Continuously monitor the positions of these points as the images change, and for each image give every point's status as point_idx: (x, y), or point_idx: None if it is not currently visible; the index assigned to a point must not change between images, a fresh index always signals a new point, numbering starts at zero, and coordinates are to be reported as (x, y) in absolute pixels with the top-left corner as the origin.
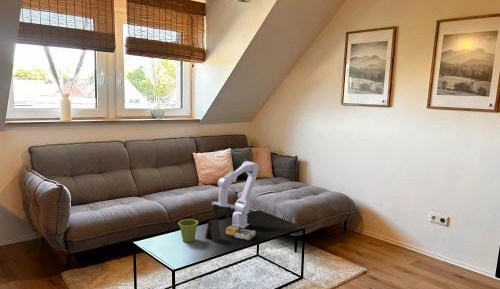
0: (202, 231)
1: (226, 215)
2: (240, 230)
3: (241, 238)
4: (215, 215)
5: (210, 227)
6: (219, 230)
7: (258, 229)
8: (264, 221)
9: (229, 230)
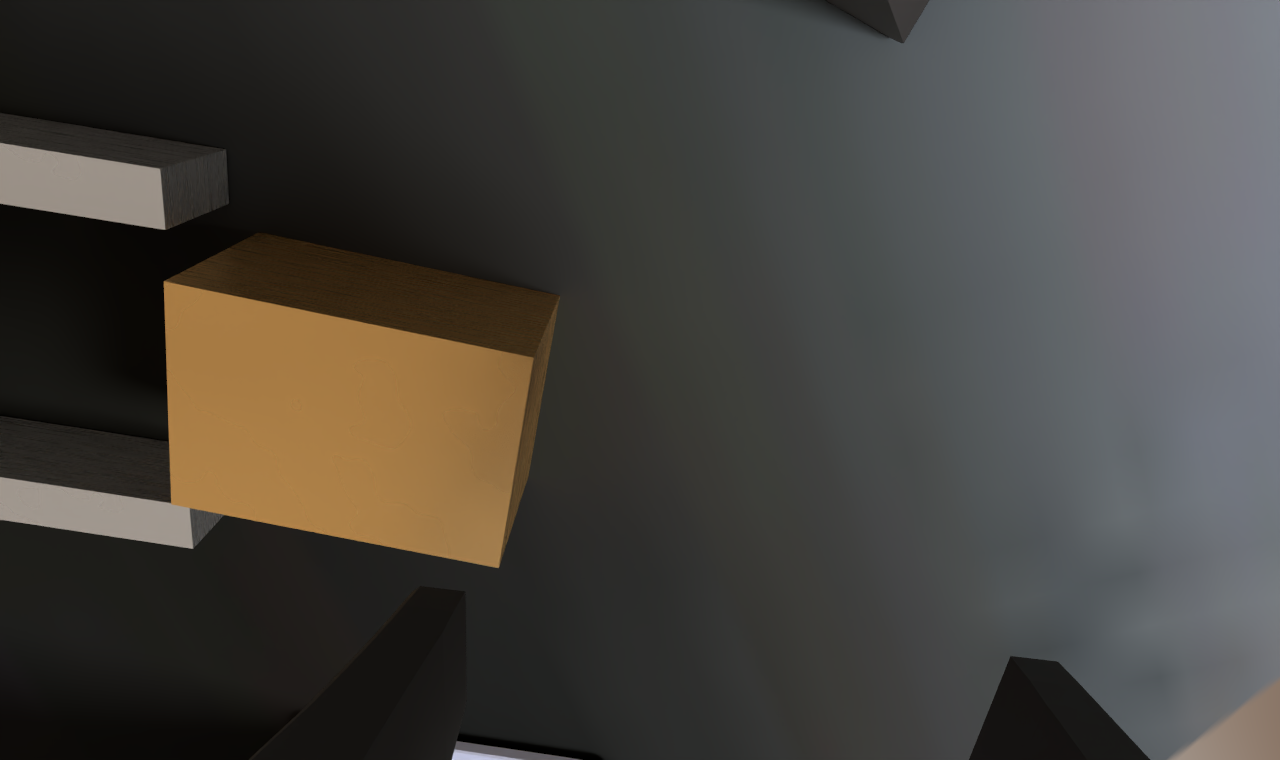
0: (1262, 258)
1: (376, 711)
2: None
3: (10, 116)
4: (1098, 713)
5: None
6: None
7: (15, 733)
8: None
9: (402, 311)
